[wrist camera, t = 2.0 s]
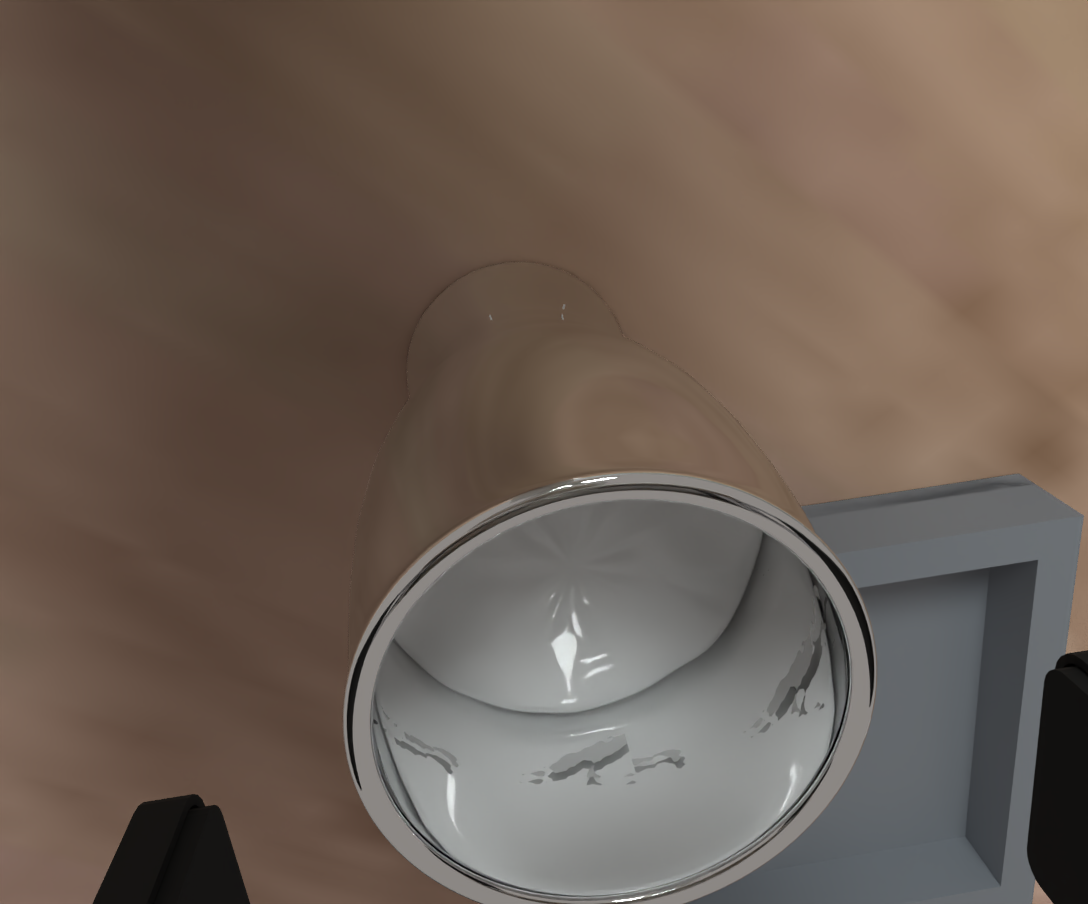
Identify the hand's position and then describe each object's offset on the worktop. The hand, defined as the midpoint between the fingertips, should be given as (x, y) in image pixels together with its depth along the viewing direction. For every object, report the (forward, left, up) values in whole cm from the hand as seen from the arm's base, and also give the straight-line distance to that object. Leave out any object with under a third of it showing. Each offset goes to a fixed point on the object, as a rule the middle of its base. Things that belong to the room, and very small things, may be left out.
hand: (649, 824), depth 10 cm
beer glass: (-1, 0, -16) cm, 16 cm away
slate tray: (+12, +7, -16) cm, 22 cm away
